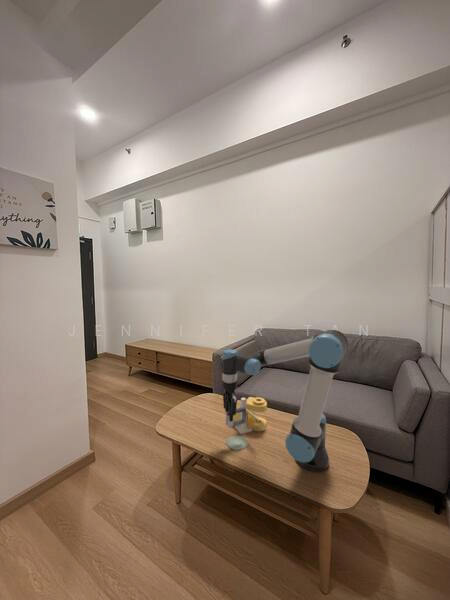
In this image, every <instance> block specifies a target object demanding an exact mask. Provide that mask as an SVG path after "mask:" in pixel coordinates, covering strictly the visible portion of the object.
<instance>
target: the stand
mask: <svg viewBox="0 0 450 600" xmlns="http://www.w3.org/2000/svg"><path fill="white" fill-rule="evenodd" d="M247 399H248V398H246V397H240V406H241V408H242V407H245V408H246V413H248V414H249V415H251V416H252V417H253V418H254V419H255V420H256V421H257V422H258V423H260V420H259V419H258V418H257V417H258V416H257V415H255V414H254V415H253V414H252V413H251V412H250V411H249V410H248V409H247ZM256 416H257V417H256ZM241 419H242V412H241ZM234 427H235V429H236V431H238V432H239V434H241V435H244V434H246V433H250V432H253V430H252V429H251V428H249V427H246V423H243V424H241V425H236V426H234Z"/></svg>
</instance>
